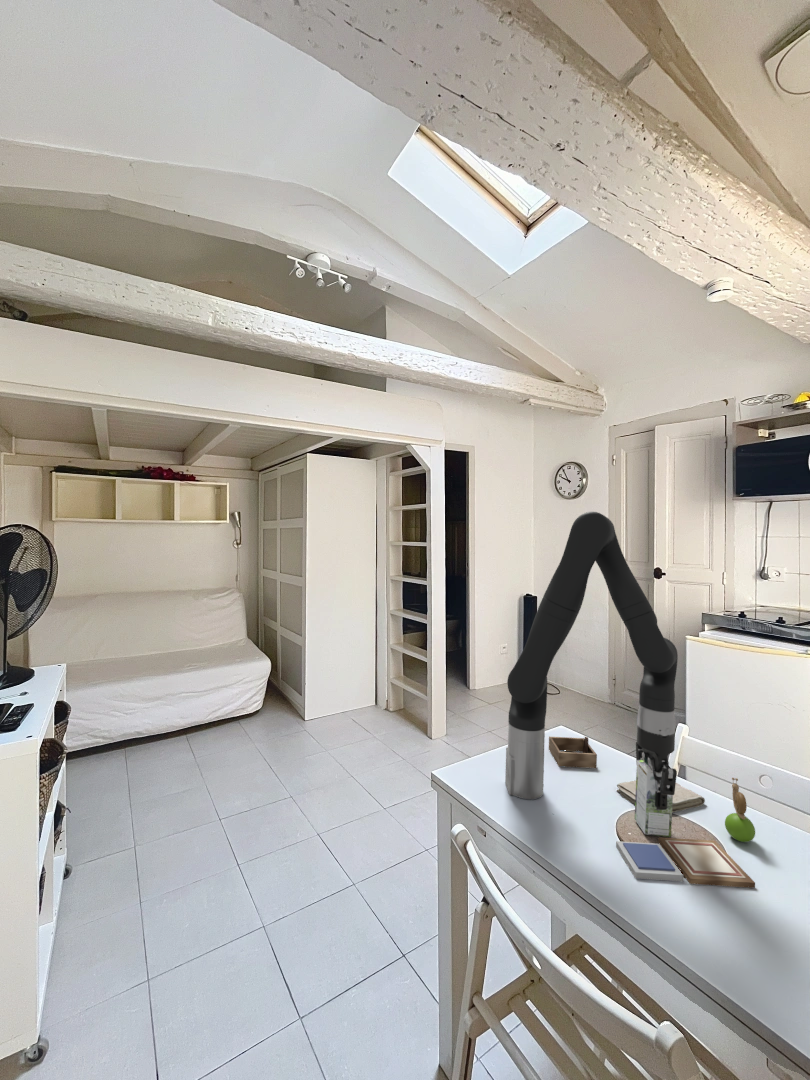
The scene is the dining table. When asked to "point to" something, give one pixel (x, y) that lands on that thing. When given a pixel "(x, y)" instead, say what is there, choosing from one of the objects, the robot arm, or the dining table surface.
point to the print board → (705, 863)
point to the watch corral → (570, 757)
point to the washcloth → (680, 798)
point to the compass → (585, 746)
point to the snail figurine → (739, 818)
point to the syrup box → (651, 804)
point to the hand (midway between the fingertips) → (653, 799)
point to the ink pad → (648, 861)
